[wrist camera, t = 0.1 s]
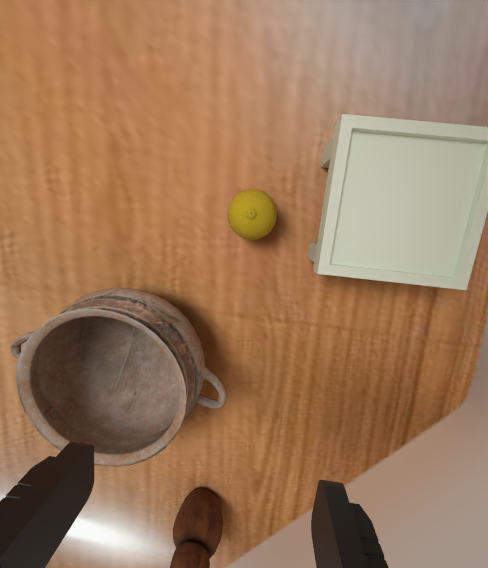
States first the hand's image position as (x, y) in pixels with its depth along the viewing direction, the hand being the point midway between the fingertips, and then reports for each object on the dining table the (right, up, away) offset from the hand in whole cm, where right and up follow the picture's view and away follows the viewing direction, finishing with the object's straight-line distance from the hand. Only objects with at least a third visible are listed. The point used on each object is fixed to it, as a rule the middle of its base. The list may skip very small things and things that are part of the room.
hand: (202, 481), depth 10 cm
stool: (+17, +16, +26) cm, 34 cm away
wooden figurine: (-5, -27, +36) cm, 45 cm away
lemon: (+3, +16, +27) cm, 31 cm away
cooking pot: (-12, -1, +31) cm, 33 cm away
